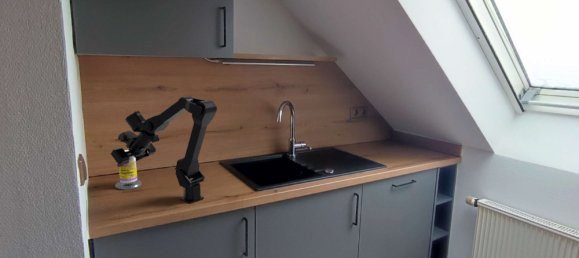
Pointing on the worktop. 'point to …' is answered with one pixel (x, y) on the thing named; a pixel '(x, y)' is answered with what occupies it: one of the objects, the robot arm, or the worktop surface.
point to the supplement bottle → (128, 171)
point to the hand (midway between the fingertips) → (125, 164)
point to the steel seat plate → (128, 185)
